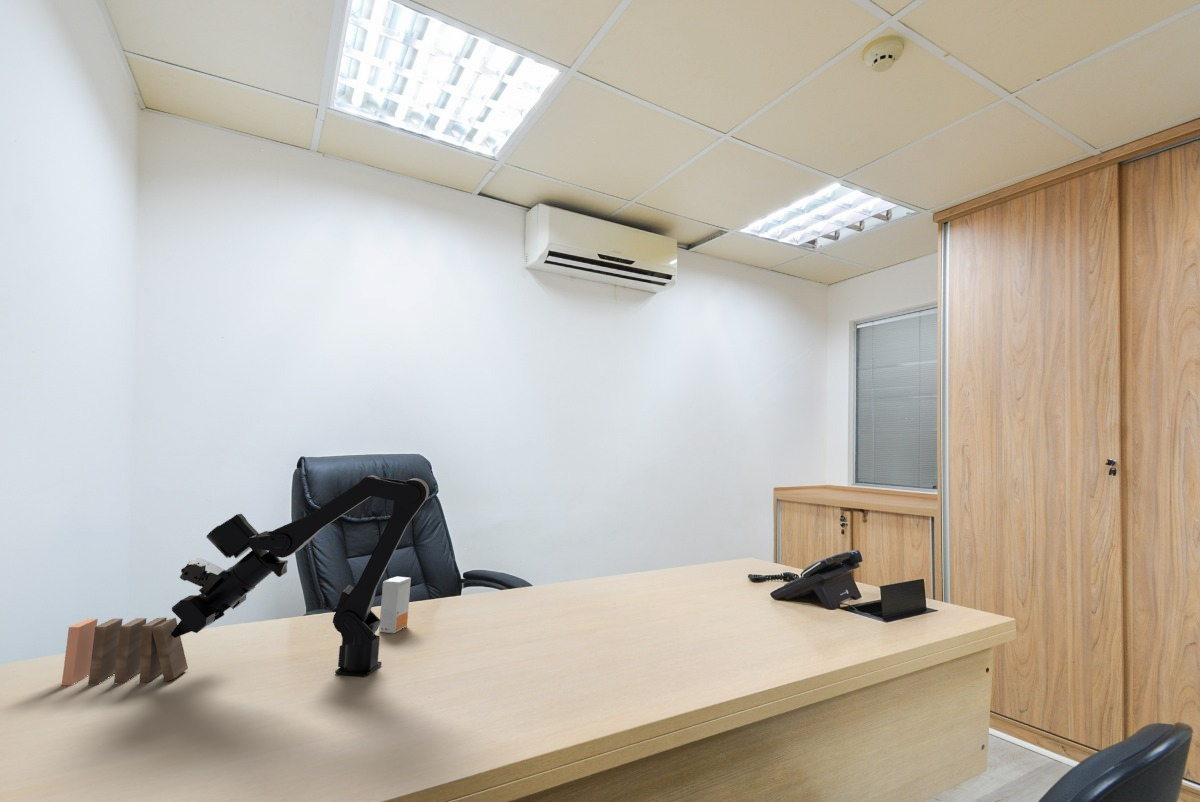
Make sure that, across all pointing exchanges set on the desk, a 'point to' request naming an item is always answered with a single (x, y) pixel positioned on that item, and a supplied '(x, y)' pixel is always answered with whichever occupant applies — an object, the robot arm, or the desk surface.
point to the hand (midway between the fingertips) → (173, 635)
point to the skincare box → (394, 604)
